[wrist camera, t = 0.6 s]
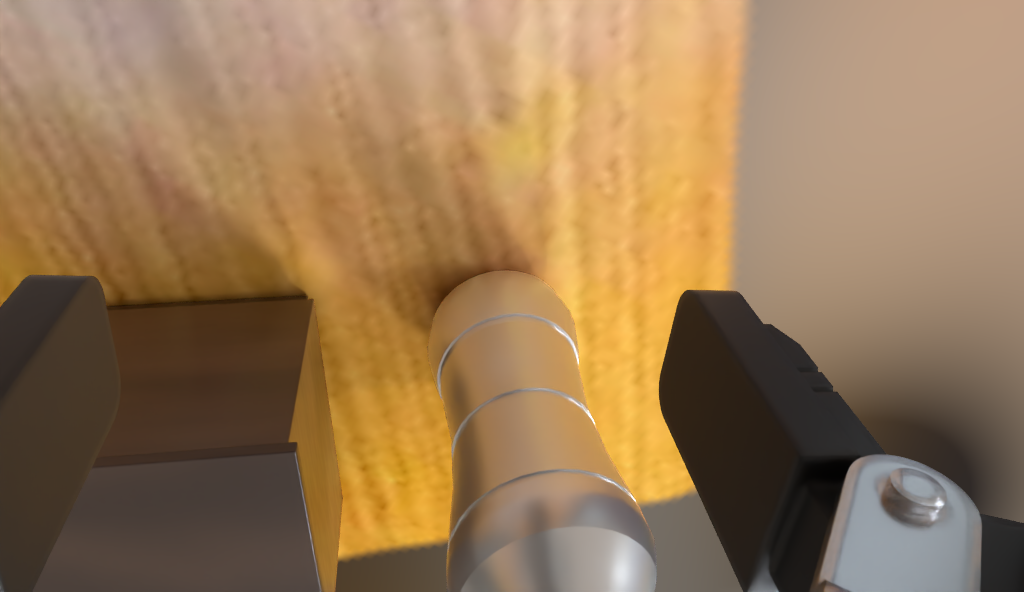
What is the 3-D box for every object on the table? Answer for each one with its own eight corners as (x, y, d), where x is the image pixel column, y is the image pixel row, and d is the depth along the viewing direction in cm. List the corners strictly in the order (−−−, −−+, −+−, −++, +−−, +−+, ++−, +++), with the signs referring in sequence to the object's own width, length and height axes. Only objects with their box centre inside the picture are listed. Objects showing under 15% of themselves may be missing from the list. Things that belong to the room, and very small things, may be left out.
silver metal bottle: (396, 331, 35) (398, 793, 18) (486, 224, 33) (583, 638, 16) (503, 391, 38) (591, 843, 21) (593, 296, 36) (772, 717, 19)
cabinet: (38, 293, 32) (-109, 483, 23) (324, 278, 33) (296, 451, 24) (117, 508, 39) (28, 723, 29) (352, 488, 40) (339, 687, 31)
